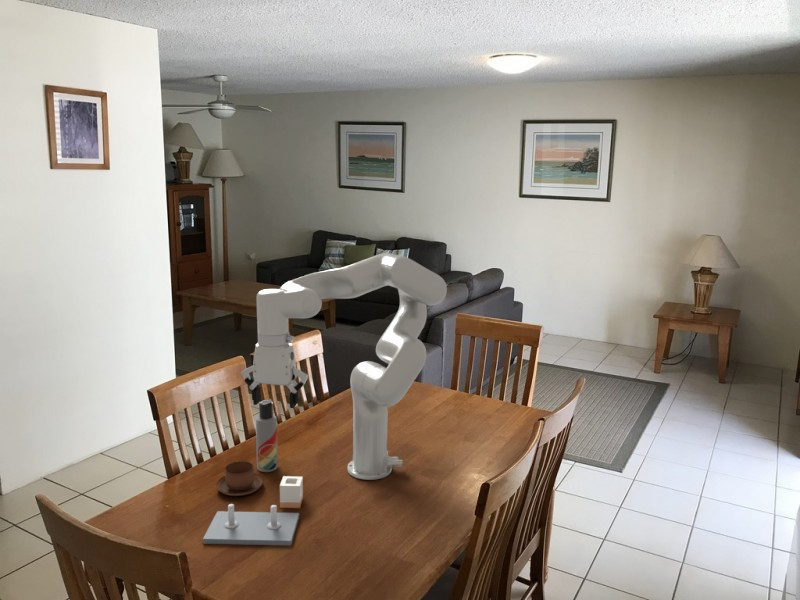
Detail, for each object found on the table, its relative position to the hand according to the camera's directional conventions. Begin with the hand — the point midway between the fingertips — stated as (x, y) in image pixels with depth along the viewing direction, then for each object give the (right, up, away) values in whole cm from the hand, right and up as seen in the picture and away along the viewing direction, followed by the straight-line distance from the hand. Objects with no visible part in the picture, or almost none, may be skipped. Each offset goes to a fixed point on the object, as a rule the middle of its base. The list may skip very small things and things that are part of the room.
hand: (275, 404), depth 166 cm
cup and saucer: (-11, -24, +9) cm, 28 cm away
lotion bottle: (-6, -21, +21) cm, 30 cm away
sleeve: (+4, -25, +2) cm, 26 cm away
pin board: (-3, -28, -11) cm, 30 cm away
